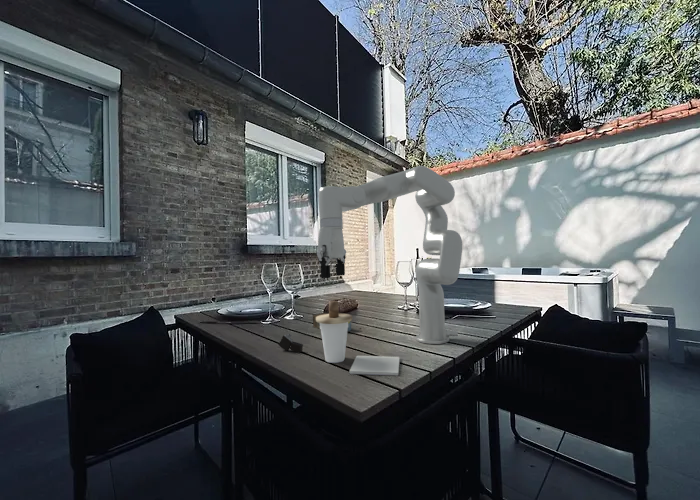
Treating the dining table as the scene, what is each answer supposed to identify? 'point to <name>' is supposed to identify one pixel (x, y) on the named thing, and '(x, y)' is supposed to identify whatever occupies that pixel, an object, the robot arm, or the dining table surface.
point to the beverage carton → (317, 325)
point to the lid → (333, 315)
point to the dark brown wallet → (290, 344)
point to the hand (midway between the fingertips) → (333, 276)
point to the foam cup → (334, 341)
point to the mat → (375, 365)
